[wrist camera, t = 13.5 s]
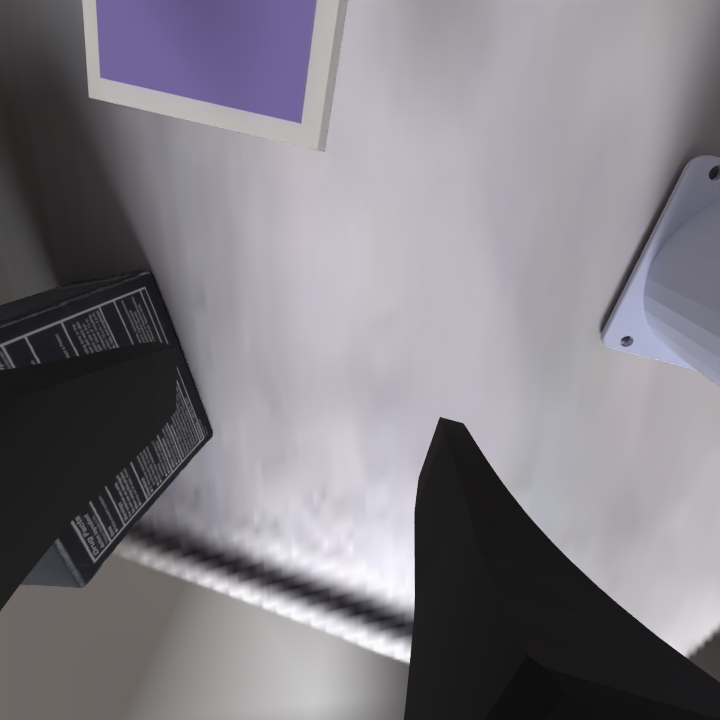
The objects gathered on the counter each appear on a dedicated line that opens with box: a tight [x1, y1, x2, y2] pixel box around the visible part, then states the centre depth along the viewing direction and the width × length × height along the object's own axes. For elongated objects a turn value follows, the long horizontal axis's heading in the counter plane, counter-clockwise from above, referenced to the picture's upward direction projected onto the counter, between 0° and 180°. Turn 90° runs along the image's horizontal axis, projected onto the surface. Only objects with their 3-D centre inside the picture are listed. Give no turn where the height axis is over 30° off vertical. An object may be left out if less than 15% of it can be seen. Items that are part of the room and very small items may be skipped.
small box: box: [0, 270, 213, 588], centre depth 19 cm, size 11×6×10 cm, turn 11°
